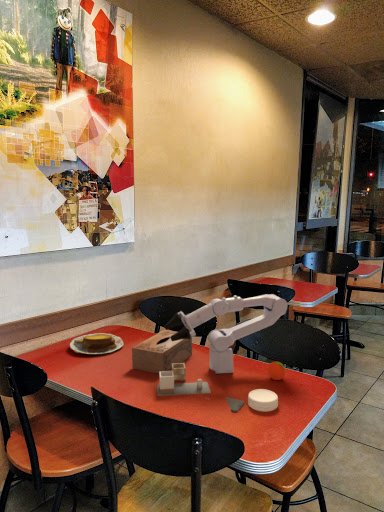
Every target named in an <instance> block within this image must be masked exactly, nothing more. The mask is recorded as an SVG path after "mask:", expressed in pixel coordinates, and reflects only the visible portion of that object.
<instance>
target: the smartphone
mask: <svg viewBox="0 0 384 512" xmlns="http://www.w3.org/2000/svg"><path fill="white" fill-rule="evenodd" d="M225 400H226V402H227V405H228V407H229V410H230V412H232V413H238V412H239V411H240V409H241V408H242V407H243V406H244V405H245V401H244V400H241V399H236V398H233V397H227V396H226V397H225Z"/></svg>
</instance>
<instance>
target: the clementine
mask: <svg viewBox="0 0 384 512" xmlns="http://www.w3.org/2000/svg"><path fill="white" fill-rule="evenodd" d="M266 370H267V374H268V376H269V378H271V379H272V380H274V381H279V380H282V379H283V378H284V377H285V375H286V372H287V369H286V367H285V365H284V364H283V363H281V362H280V361H276V360H274V361H273V362H271V363H269V364H268V366H267V369H266Z"/></svg>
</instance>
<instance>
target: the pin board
mask: <svg viewBox="0 0 384 512" xmlns="http://www.w3.org/2000/svg"><path fill="white" fill-rule="evenodd" d="M156 392H157V395H156V396H157V397H165V396H166V397H167V396H168V397H169V396H182V395H183V396H185V395H201V394H202V395H203V394H212V392H211V389H210V385H209V383H208V381H203V378H197V379H196V381H195V382H181V383H174V392H173V393H160V384H156Z"/></svg>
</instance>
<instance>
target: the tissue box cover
mask: <svg viewBox="0 0 384 512" xmlns="http://www.w3.org/2000/svg"><path fill="white" fill-rule="evenodd" d="M177 332H178V331H174V330H170V329H168V330H166V329H163V330H162V331H159V332H158V333H156V334H153V335H152V336H150V337H149V338H147V339H145V340H143V341H141V342H139V343H138V344H136V345H134V346H132V347H131V360H132V362H131V363H132V364H131V365H132V370H140V371H143V372H150V373H153V374H159V371H171V370H172V364H175V363H184V362H185V361H186V360H187V359H189V358H191V356H193V337H191V336H190V338H191V339H181V340H176V341H172V340H171V338H170V337H171V336H172V335H174V334H175V333H177Z"/></svg>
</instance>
